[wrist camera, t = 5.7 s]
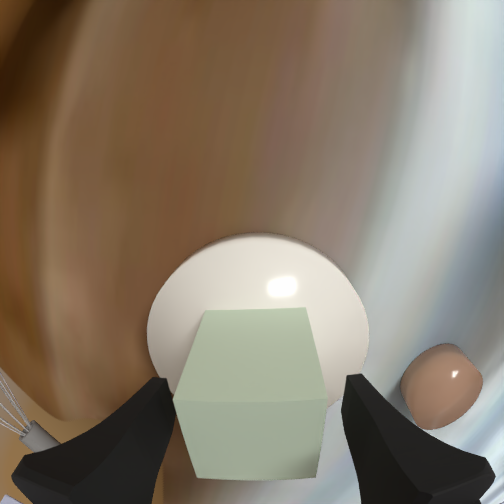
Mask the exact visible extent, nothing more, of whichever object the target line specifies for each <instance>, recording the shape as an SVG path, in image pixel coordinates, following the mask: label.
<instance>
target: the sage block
mask: <svg viewBox="0 0 504 504" xmlns="http://www.w3.org/2000/svg"><path fill="white" fill-rule="evenodd" d="M327 401H328V397H327V392H326V388H325V384H324V379H323V375H322V371H321V367H320V362H319V358H318V354H317V350H316V346H315V342H314V338H313V334H312V330H311V326H310V322H309V318H308V314H307V310H306V307H299V308H276V309H244V310H205V313H204V316H203V318H202V321H201V324H200V326H199V329H198V332H197V334H196V337H195V340H194V342H193V345H192V348H191V351H190V353H189V356H188V359H187V362H186V364H185V367H184V370H183V373H182V375H181V378H180V381H179V384H178V386H177V389H176V392H175V395H174V398H173V402H174V406H175V409H176V413H177V416H178V420H179V423H180V426H181V430H182V433H183V436H184V440H185V443H186V446H187V449H188V452H189V455H190V458H191V461H192V464H193V467H194V470H195V473H196V476H197V478H207V479H224V480H287V479H304V478H316V473H317V467H318V461H319V456H320V450H321V443H322V437H323V430H324V424H325V417H326V409H327Z"/></svg>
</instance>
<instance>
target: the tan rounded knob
mask: <svg viewBox="0 0 504 504" xmlns="http://www.w3.org/2000/svg"><path fill="white" fill-rule="evenodd" d="M482 385H483V378H482V375H481V373H480V372H479V371H478V370H477V369H476V367H475V366H474V365H473V364H472V363H471V361H470V360H469V359H468V358H467V357H466V355H465V354H464V353H463V352H462V351H461V350H460V349H459V348H458V347H457V346H456V345H453V344H440V345H436V346H434V347H431V348H429V349H428V350H426V351H424V352H423V353H421V354H420V355H419V356H418V357H416V358H415V359H414V360H413V361H412V363H411V364H410V365H409V366H408V368H407V369H406V371H405V372H404V374H403V376H402V379H401V383H400V391H401V394H402V396H403V398H404V400H405V402H406V404H407V406H408V408H409V410H410V412H411V414H412V416H413V418H414V420H415V422H416V424H417V425H418V426H419V427H420V428H422V429H427V430H432V429H438V428H441V427H444V426H446V425H448V424H450V423H452V422H454V421H455V420H457V419H458V418H460V417H461V416H462V415H463V414H464V413H466V412H467V411H468V410H469V409H470V407H471V406H472V405H473V404H474V402H475V401H476V399H477V398H478V396H479V394H480V392H481V389H482Z"/></svg>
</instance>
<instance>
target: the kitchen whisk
mask: <svg viewBox="0 0 504 504" xmlns="http://www.w3.org/2000/svg"><path fill="white" fill-rule="evenodd" d="M0 375H1V372H0ZM1 377H2V378H3V376H2V375H1ZM3 380H4V378H3ZM4 382H5V380H4ZM0 383H1V385H2V386H3V384H2V382H1V381H0ZM5 384H6V385H7V383H6V382H5ZM1 385H0V387H1ZM7 387H8V385H7ZM3 388H4V389H5V387H4V386H3ZM3 388H2V387H1V389H2V390H3ZM8 389H9V391H10V392H11V390H10V388H9V387H8ZM5 390H6V389H5ZM3 392H4V393H5V391H4V390H3ZM6 393H7V394H8V395H9V393H8V392H7V391H6ZM6 393H5V395H6V396H7V394H6ZM11 394H12V396H13V398H14V399H15V397H14V395H13V393H12V392H11ZM7 397H8V396H7ZM9 397H10V398H9ZM9 397H8V399H9V400H10V399H11V400H12V401H11V400H10V402H11V403H12V402H13V403H14V404H13V403H12V405H13V406H14V405H15V406H16V404H15V402H14V401H13V399H12V398H11V396H10V395H9ZM15 401H16V402H17V400H16V399H15ZM17 404H18V402H17ZM0 406H1V407H2V408H3V409H4V410H5V411H6V412H7V413H8V414H9V415H10V416H11V417H12V418H14V420H16V422H18V423H19V424H20V425H21V426H22V427H23V428H24V430H23V431H20V430H19V429H17V428H16V427H14V426H13V425H11V424H10V423H8V422H7V421H5V420H3V419H2V418H1V417H0V419H1V420H2V421H3V422H5V423H6V424H8V425H9V426H11V427H13V428H14V429H16V430H17V431H19V432H21V433H19V432H17V431H15V430H13V429H12V428H10V427H8V426H6V425H4V424H3V423H1V422H0V424H2V425H4V426H5V427H7V428H9V429H11V430H13V431H15V432H17V433H19V434H21V435H20V437H19V440H20V441H21V442H23V443H24V444H25V445H26V446H27V447H28V448H29V449H31V450H32V451H33V452H34V453H36V452H39V451H43V450H46V449H49V448H52V447H55V446H58V445H60V444H61V443H60V442H58V441H57V440H56V439H55V438H54V437H52V436H51V435H50V434H49V433H48V432H47V431H46V430H44V429H43V428H42V427H41V426H40V425H39V424H38V423H37V422H36V421H34V420H33V421H31V422H29V421H28V419H27V417H26V415H25V414H24V412H23V410H22V409H21V407H20V405H19V404H18V406H19V407H20V409H21V411H22V413H23V414H24V416H25V417H24V416H23V414H22V413H21V411H20V410H19V408H18V407H17V406H16V407H15V406H14V408H15V409H16V410H17V409H18V410H17V412H18V413H19V412H20V413H19V414H20V416H21V417H22V419H23V420H24V421H25V423H26V424H27V426H26V427H24V426H23V425H22V424H21V423H20V422H19V421H18V420H17V419H16V418H15V417H14V416H13V415H12V414H11V413H10V412H9V411H8V410H7V409H6V408H5V407H4V406H3V405H2V404H1V403H0ZM25 418H26V419H27V420H26V419H25ZM27 421H28V422H27Z"/></svg>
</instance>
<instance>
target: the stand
mask: <svg viewBox="0 0 504 504" xmlns="http://www.w3.org/2000/svg"><path fill="white" fill-rule="evenodd" d="M299 307H306V310H307V314H308V318H309V322H310V326H311V330H312V334H313V338H314V342H315V346H316V350H317V354H318V358H319V362H320V367H321V371H322V375H323V379H324V384H325V388H326V392H327V397H328V401H327V408H328V407H330V406H331V405H332V404H334V403H335V402H336V401H337V400H338V399H340V398H341V397H342V396H343V395H344V389H345V383H346V376H347V375H352V374H359V373H360V371H361V369H362V367H363V364H364V362H365V359H366V355H367V351H368V346H369V326H368V320H367V316H366V312H365V309H364V307H363V304H362V302H361V300H360V298H359V296H358V294H357V293H356V291H355V290H354V288H353V287H352V285H351V283H350V282H349V280H348V279H347V277H346V276H345V274H344V273H343V271H342V270H341V269H340V268H339V267H338V266H337V264H336V263H335V262H334V261H333V260H332V259H330V258H329V257H328V256H327V255H326V254H324V253H323V252H322V251H320V250H318V249H317V248H315V247H314V246H312V245H310V244H308V243H306V242H303V241H301V240H299V239H296V238H293V237H289V236H286V235H281V234H275V233H268V232H249V233H240V234H235V235H231V236H227V237H223V238H220V239H218V240H215V241H213V242H210V243H208V244H206V245H205V246H203V247H201V248H199V249H197V250H196V251H195V252H193V253H192V254H191V255H190V256H188V257H187V258H186V259H185V260H184V261H183V262H182V263H181V264H180V265H179V266H178V267H177V268H176V270H175V271H174V272H173V273H172V275H171V276H170V277H169V279H168V280H167V281H166V283H165V284H164V286H163V287H162V288H161V290H160V291H159V293H158V294H157V296H156V298H155V300H154V302H153V305H152V308H151V311H150V314H149V318H148V325H147V343H148V348H149V353H150V357H151V360H152V363H153V365H154V367H155V369H156V371H157V373H158V375H159V376H160V378H167V381H168V385H169V389H170V391H171V392H172V393H173V394H174V395H175V392H176V389H177V386H178V384H179V381H180V378H181V375H182V373H183V370H184V367H185V364H186V362H187V359H188V356H189V353H190V351H191V348H192V345H193V342H194V340H195V337H196V334H197V332H198V329H199V326H200V324H201V321H202V318H203V316H204V313H205V310H244V309H276V308H299Z"/></svg>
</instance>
